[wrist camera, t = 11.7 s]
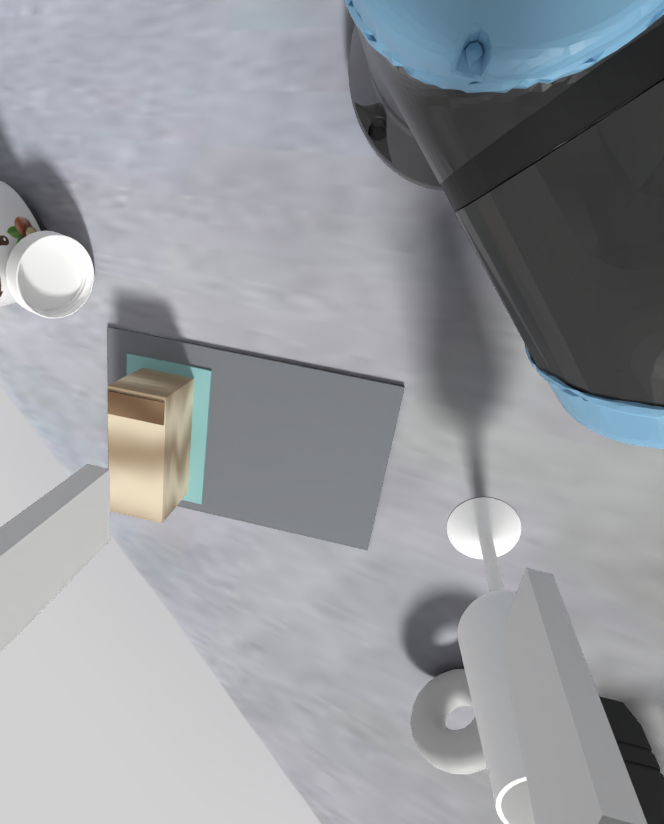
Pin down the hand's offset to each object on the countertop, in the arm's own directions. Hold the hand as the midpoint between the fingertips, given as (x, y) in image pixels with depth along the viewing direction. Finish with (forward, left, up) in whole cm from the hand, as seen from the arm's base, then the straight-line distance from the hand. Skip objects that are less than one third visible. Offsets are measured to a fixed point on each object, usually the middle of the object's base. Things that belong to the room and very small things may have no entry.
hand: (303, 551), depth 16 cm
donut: (+33, +15, -29) cm, 46 cm away
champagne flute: (+15, +13, -29) cm, 35 cm away
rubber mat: (+11, -10, -29) cm, 32 cm away
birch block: (+12, -18, -28) cm, 35 cm away
